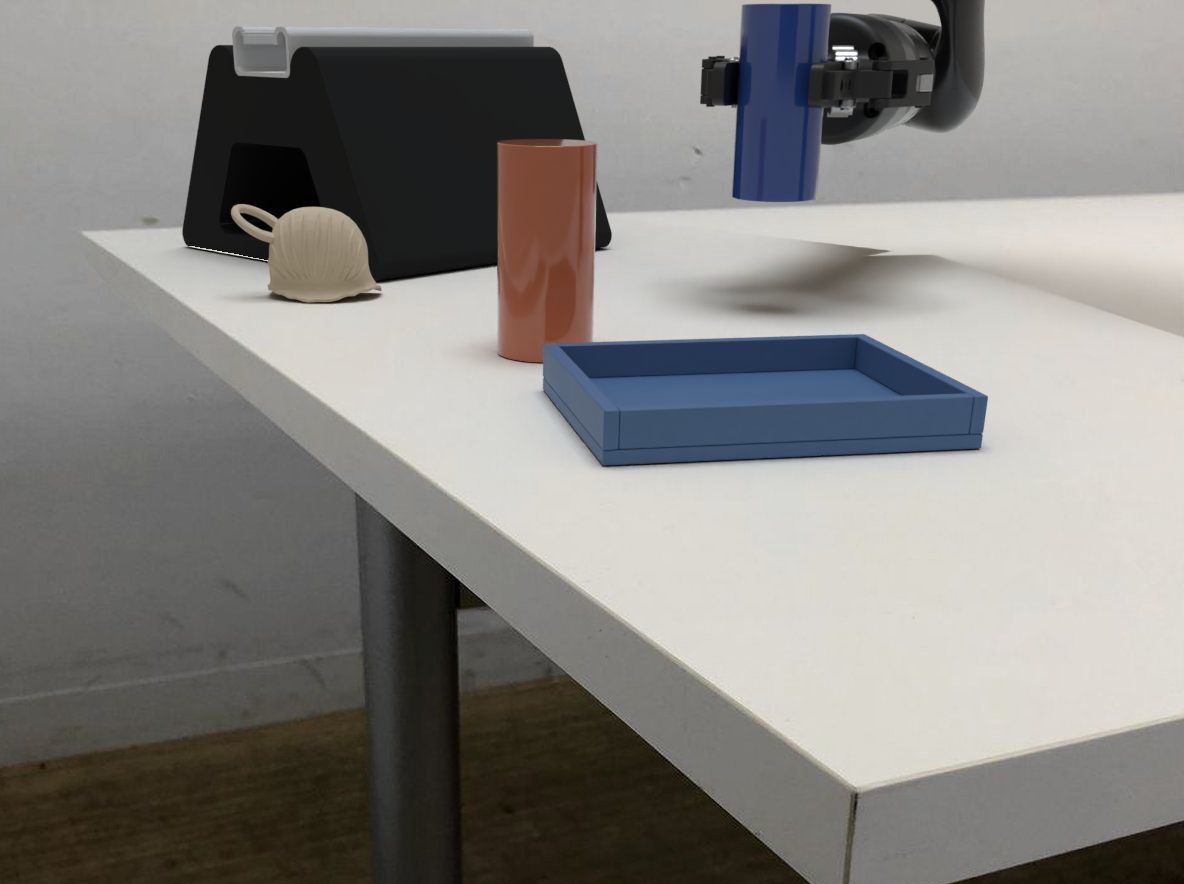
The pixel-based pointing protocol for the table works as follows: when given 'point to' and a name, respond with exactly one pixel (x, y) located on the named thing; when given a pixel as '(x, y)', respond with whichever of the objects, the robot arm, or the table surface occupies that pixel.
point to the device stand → (373, 136)
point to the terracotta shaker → (545, 244)
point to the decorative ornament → (312, 253)
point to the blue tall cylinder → (778, 102)
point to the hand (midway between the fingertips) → (766, 85)
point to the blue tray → (756, 399)
